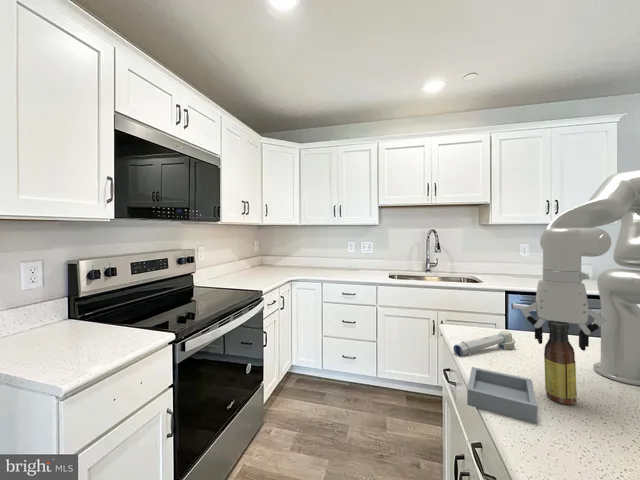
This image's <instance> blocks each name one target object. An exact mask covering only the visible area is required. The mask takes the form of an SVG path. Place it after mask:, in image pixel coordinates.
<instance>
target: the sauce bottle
mask: <svg viewBox="0 0 640 480" xmlns="http://www.w3.org/2000/svg"><path fill="white" fill-rule="evenodd" d="M569 324H570V323H562V322H554V321H548V324H547V325H548V328H549V335H548V340H547V342H546V343H545V346H544V353H543V357H544V360H543V361H544V384H545V385H544V387H545V392H546V396H547V397H548V398H549V399H551V400H552V401H553V402H556V403H558V404H563V405H568V406H569V405H570V406H571V405H575V404H576V403H577V395H578V394H577V392H578V391H577V372H576V371H577V368H576V356H575V355H576V354H575V349H574V347H573V345H572V344H571V343H570V341H569V330H570V325H569Z"/></svg>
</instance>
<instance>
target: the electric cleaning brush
mask: <svg viewBox="0 0 640 480" xmlns="http://www.w3.org/2000/svg"><path fill="white" fill-rule="evenodd" d="M515 343H516V340H515V338H513V335H512V333H511V331H508V330H501V331H499V333H498V334H493V335H490V336H484V337H481V338H476V339H473V340H467V341H462V342H460V343H457V344H454V345H453V352H454V354H455V355H457V356H459V357H463V356H466V355H467V356H469V355H471V354H473V353H475V352H478V351H481V350H484V349H487V348H490V347H493V346H495V345H496V346H499V347H500V348H499V347H498V348H499V349H501V348H502V349H501V350H504V349H506V350H509V349H510V351H512V350H514V349H515Z"/></svg>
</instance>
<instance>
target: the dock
mask: <svg viewBox="0 0 640 480" xmlns="http://www.w3.org/2000/svg"><path fill="white" fill-rule="evenodd" d="M470 369H471V370H470V375H469V379H468V383H467V384H468V385H467V390H466V391H467V396H466V402H467V406H469V407H473V408H477V409H480V410H484V411H487V412H488V411H489V412H492V413H496V414H499V415H503V416H507V417H510V418H513V419H518V420H522V421H525V422H529V423H532V424H536V425H537V424H538V402H537V397H536V393H535V390H534V386H533V380H532V379H531V378H528V377H524V376H517V375H514V374H513V375H512V374H507V373H504V372H499V371H492V370H490V369H489V370H488V369H484V368H480V367H474V366H472V367H471V368H470Z"/></svg>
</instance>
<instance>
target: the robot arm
mask: <svg viewBox="0 0 640 480" xmlns="http://www.w3.org/2000/svg"><path fill="white" fill-rule="evenodd" d="M619 220H620V223H621V224H620V228H619V232H618V236H617V238H616V242H615V246H614V249H613V255H612V257H613V261H614V263H615V264H617V265H618V266H620V267H625V268H611V269H606V270H604V271H602V272H601V273H600V274H599V275H598V277H597V281H596V282H597V283H596V285H597V289H598V294H599V298H600V313H601V314H598V313H596V311H594V310H592V309H590V308H589V304H588V302H589V301H588V296H587V290H586V286H585V283H584V282H583V280H589V279H590V274H589V273H584V272H583V271H582V257H587V258H590V257H592V258H595V257H601V256H603V255H605V254H606V253H607V252H608V251H609V250H610V249H611V246H612V238H611V235H610V234H609V232H607V231H606V230H604V229H602V228H599V227H602V226H606V225H609V224H612V223H613V224H614V223H615V222H618V221H619ZM539 244H540V247H541V249H542V279H540V280H538V283H537V288H536V293H535V296H536V297H535V302H533V303H531V304H530V305H527V306H524V307H523V308H521V313H522V315H523V316H524V317H525V318H526V320H527V321H528V322H529V323H530V324H531V325H532V326H533V327H534V339H535V340H537V342H538V344H539V345H541V344H543V327H542V326H543V325H544V324H545V322H546V321H548V322H549V321H554V322H562V323H568V324H571V325H578V327H579V328H580V330H579V331H578V347H579V348H580V350H581V351H582V352H583V351H584V352H585V351H586V349H587V348H588V347H590V346H589V343H590V341H589V338H590V335H591V334H592V333H593V332H595V331H598V329H599V328H600V361H599V362H598V361H597V362H595V363H593V370H594V371H595V372H596V373H597V374H599V375H601V376H604V377H605V378H608V379H611V380H613V381H616V382H620V383H624V384H628V385H634V386H640V306H639V305H640V169H636V170H635V169H634V170H627V171H621V172H617V173H613V174H611V175H610V176H608V177H607V178H606V179H605V180H604V181H603V182H602V183H601V185H600V186H599V187H598V189H597V190H596V191H595V192H594V193H593V194H592V196H591V197H589V199H588V201H586V202H582V203H581V204H579V205H577V206H574V207H572V208H571V209H568V210H566V211H564V212H562V213H560V214H558V215H557V216H555V218H553V219H552V220H551V221H550V222H549V223H548V225H547V226H546V227H545V229H544V230H543V232H542V234H541V235H540V240H539ZM626 268H629V269H626ZM637 269H638V270H637ZM532 311H535V314H536V315H537V317H536V319H535V318H534V317H533V316H532V315H531V314H530V312H532ZM589 316H590V317H592V318H593V319H594V320H593V322H590V323H589V324H588V322H589ZM586 324H588V325H586Z"/></svg>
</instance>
